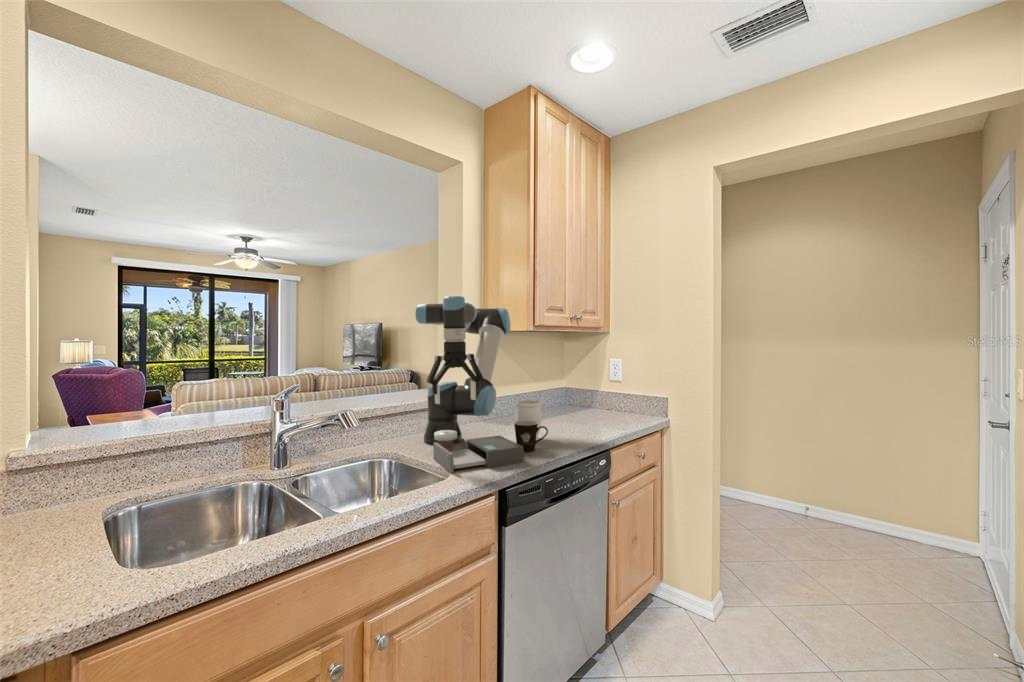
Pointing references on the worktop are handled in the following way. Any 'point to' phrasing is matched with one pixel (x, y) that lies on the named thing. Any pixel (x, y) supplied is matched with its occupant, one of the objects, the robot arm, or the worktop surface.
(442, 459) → the tray
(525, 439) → the coffee mug
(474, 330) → the robot arm
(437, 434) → the disc
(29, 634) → the worktop surface
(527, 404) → the jar
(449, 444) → the brown wooden block
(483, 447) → the housing
